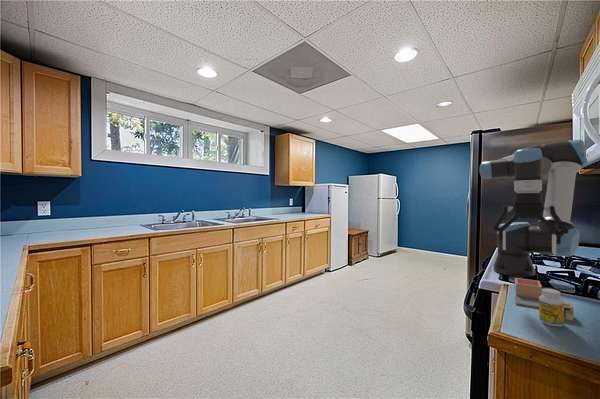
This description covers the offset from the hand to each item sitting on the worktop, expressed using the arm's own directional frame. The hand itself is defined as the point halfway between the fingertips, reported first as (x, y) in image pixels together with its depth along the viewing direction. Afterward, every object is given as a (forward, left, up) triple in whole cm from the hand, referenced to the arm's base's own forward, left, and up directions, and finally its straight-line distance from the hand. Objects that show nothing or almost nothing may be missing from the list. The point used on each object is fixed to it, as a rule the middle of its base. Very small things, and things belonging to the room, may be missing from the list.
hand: (528, 251), depth 95 cm
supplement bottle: (+19, +3, -17) cm, 26 cm away
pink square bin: (-2, 0, -17) cm, 17 cm away
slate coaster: (+6, -1, -17) cm, 18 cm away
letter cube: (+12, +7, -17) cm, 22 cm away
